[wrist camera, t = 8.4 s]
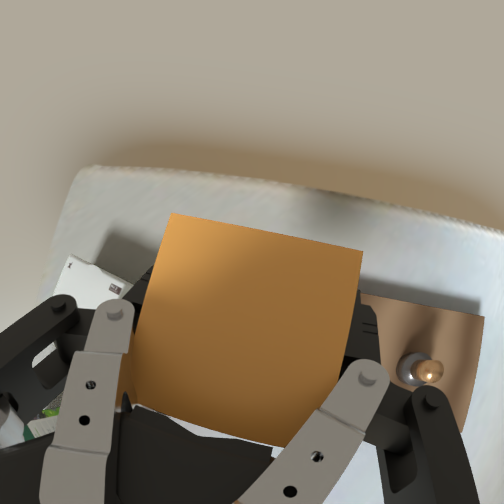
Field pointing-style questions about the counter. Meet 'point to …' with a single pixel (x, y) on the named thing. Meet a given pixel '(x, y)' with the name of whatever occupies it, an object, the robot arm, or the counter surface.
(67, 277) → the small box
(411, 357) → the grey and tan knob
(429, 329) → the board
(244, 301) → the orange rectangular block
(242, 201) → the counter surface
